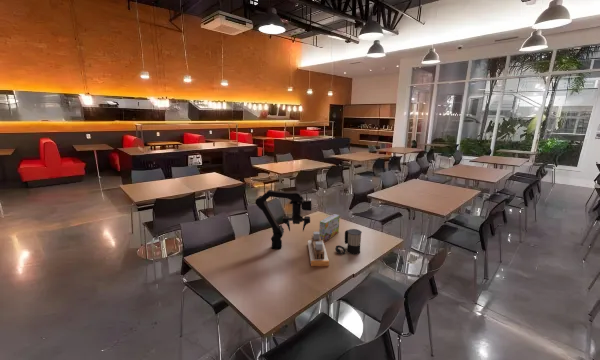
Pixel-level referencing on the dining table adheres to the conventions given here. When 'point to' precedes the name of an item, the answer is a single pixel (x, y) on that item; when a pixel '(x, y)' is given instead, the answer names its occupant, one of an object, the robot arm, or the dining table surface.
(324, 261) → the panel
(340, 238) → the dining table surface
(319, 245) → the crate
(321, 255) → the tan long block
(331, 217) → the snack box
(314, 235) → the crate
